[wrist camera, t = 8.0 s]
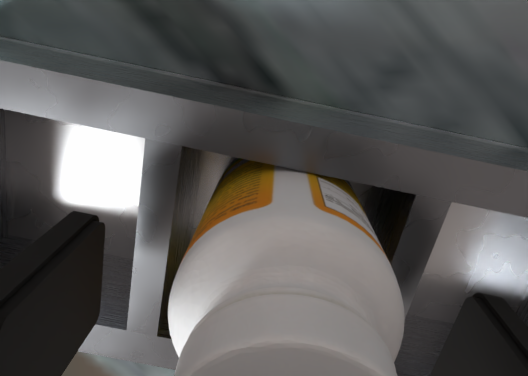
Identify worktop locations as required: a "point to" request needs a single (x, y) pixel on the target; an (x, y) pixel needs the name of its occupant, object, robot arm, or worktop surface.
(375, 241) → the supplement bottle
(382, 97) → the worktop surface
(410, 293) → the grey compartment tray
